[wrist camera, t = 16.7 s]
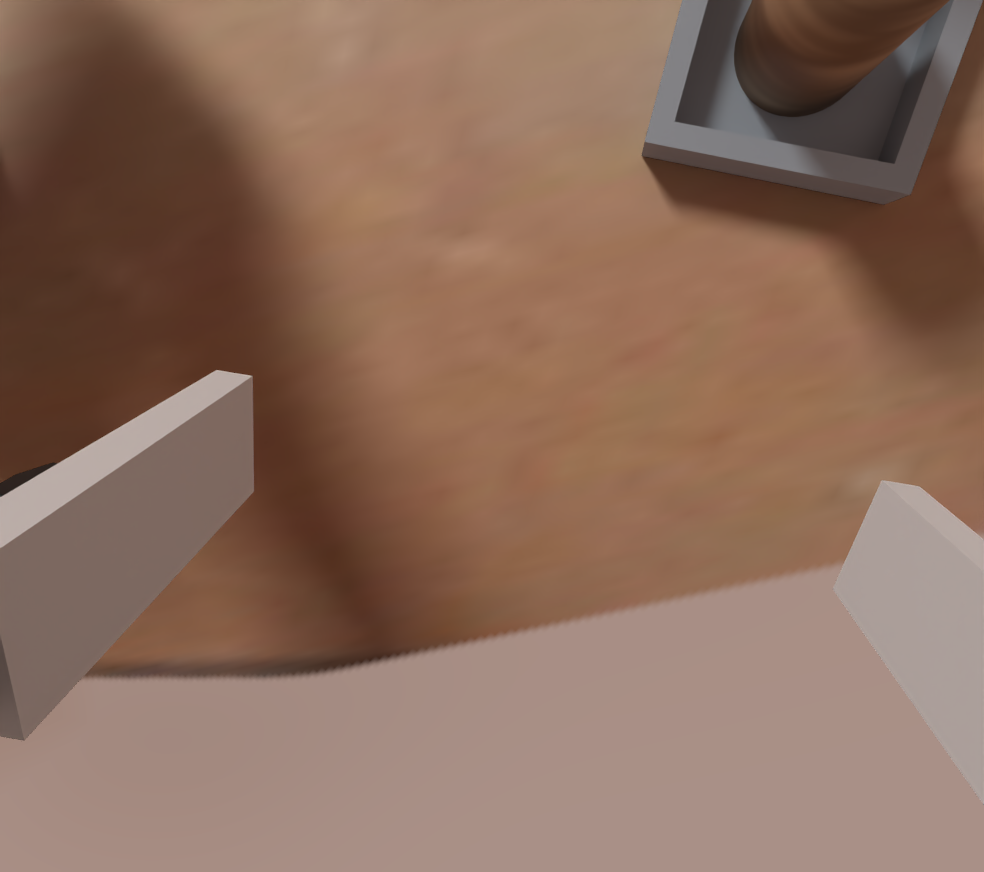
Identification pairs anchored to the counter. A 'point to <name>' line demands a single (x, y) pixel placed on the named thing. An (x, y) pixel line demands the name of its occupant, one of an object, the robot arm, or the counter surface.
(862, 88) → the slate square tray
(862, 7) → the cylinder
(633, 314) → the counter surface
